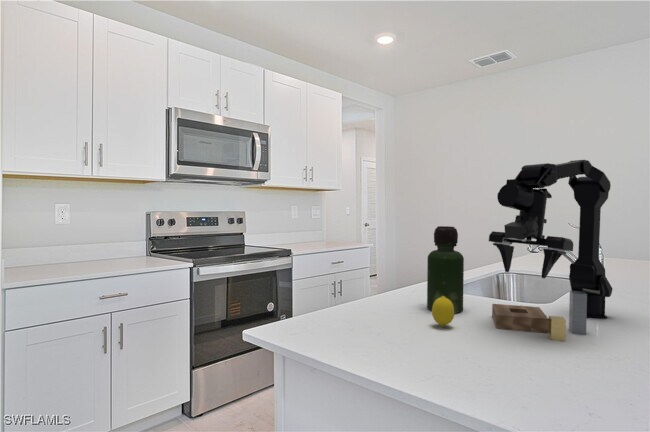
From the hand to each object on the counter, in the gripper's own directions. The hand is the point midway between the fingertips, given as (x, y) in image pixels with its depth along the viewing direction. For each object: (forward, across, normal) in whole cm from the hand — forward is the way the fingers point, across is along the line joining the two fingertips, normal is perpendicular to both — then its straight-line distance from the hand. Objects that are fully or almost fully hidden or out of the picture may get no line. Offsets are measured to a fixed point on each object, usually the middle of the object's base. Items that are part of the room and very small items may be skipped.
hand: (524, 275), depth 101 cm
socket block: (+13, -4, +7) cm, 15 cm away
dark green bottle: (+14, -24, +4) cm, 29 cm away
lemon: (+17, -14, -11) cm, 24 cm away
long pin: (+12, +9, +12) cm, 19 cm away
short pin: (+14, +8, +3) cm, 16 cm away
